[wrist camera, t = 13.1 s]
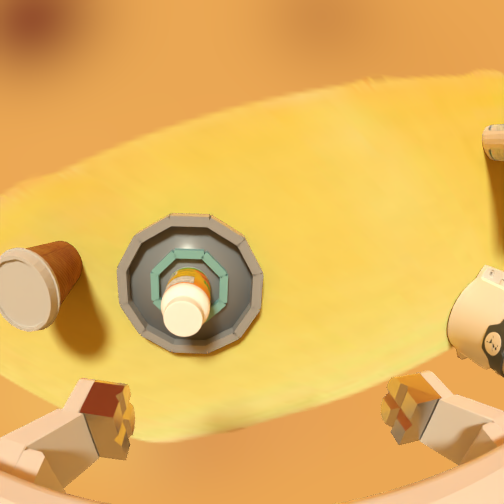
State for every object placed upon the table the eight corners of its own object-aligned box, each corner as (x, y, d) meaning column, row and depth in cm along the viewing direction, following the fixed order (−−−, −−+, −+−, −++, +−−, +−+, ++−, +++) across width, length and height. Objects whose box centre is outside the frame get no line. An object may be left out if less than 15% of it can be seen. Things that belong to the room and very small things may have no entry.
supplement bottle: (213, 303, 41) (213, 340, 32) (172, 307, 41) (161, 345, 32) (208, 263, 40) (206, 292, 31) (165, 267, 39) (151, 297, 30)
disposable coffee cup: (59, 306, 40) (20, 347, 28) (24, 250, 37) (-24, 276, 26) (105, 276, 40) (71, 314, 28) (69, 215, 37) (22, 233, 26)
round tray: (264, 216, 40) (267, 219, 38) (254, 345, 44) (257, 353, 42) (120, 212, 38) (114, 214, 36) (128, 340, 42) (124, 349, 40)
